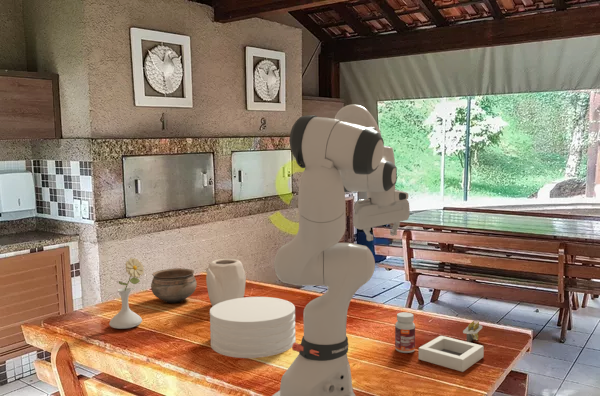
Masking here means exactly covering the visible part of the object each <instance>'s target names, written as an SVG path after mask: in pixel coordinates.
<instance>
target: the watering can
mask: <svg viewBox="0 0 600 396" xmlns="http://www.w3.org/2000/svg"><path fill="white" fill-rule="evenodd" d="M204 270H205V272H206V277H205V281H206V282H205V283H206V288H207V289H206V290H207V292H208V294H207V295H208V299H209V301H210V305H211V306H212V307H213V306H214V305H216V304H218V303H220V302H223V301H227V300H231V299H236V298H244V296H245V293H246V292H245V291H246V281H247V278H246V272H245V268H244V265H243V262H242V261H241V260H239V259H237V258H236V259H235V258H219V259H214V260H212V261H211V262H210V263H208V267H206V268H205V269H204Z"/></svg>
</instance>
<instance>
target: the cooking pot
mask: <svg viewBox="0 0 600 396" xmlns="http://www.w3.org/2000/svg"><path fill="white" fill-rule="evenodd" d="M194 274H195V270H193V269H190V268H185V267H184V268H182V267H181V268H179V267H177V268H166V269H160V270H157V271H155V272H153V273H152V274H151V275H152V276H153V277H152V281H151V283H150V284H151V285H150V289H151V292H152V294H153V295H154V296H155V297H156V298H158V299H159V300H161V301H164V302H166V303H168V304H177V303H178V304H179V303H181V302H183V301H184V300H186V299H187V298H189V297H190V296H192V295H193V294H194V292H195V291H196V288H197V283H198V282H197V280H196V277H195V275H194Z"/></svg>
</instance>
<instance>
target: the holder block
mask: <svg viewBox="0 0 600 396" xmlns="http://www.w3.org/2000/svg"><path fill="white" fill-rule="evenodd" d="M484 348H485V347H484V345H481V344H477V343H473V342H467V340H460V339H457V338H454V337H450V336H449V337H448V336H445V335H439V336H437V337H435V338H434V339H432V340H430V341H429V342H426V343H425V344H422V345H421V346H420V347H418V360H421V361H424V362H428V363H431V364H435V365H438V366H440V367H445V368H448V369H451V370H456V371H458V372H461V373H464V372H465V371H466V370H468V369H469V368H470V367H472V366H473V365H474V364H476V363H477V362H479V361H480V360H481V359H483V358H484V353H485V349H484Z"/></svg>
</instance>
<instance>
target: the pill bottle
mask: <svg viewBox="0 0 600 396" xmlns="http://www.w3.org/2000/svg"><path fill="white" fill-rule="evenodd" d="M414 317H415V316H414V314H413V312H412V313H411V312H406V311H402V312H399V313H398V312H397V314H396V320H397V321H396V322H395V323H394V325H395V326H394V333H395V334H394V337H395V338H394V340H395V341H394V348H395V350H396V351H397V352H398V353H402V354H403V353H404V354H408V353H413V352H415V351H416V325H415V324H416V323H414V321H415V320H414Z"/></svg>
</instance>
